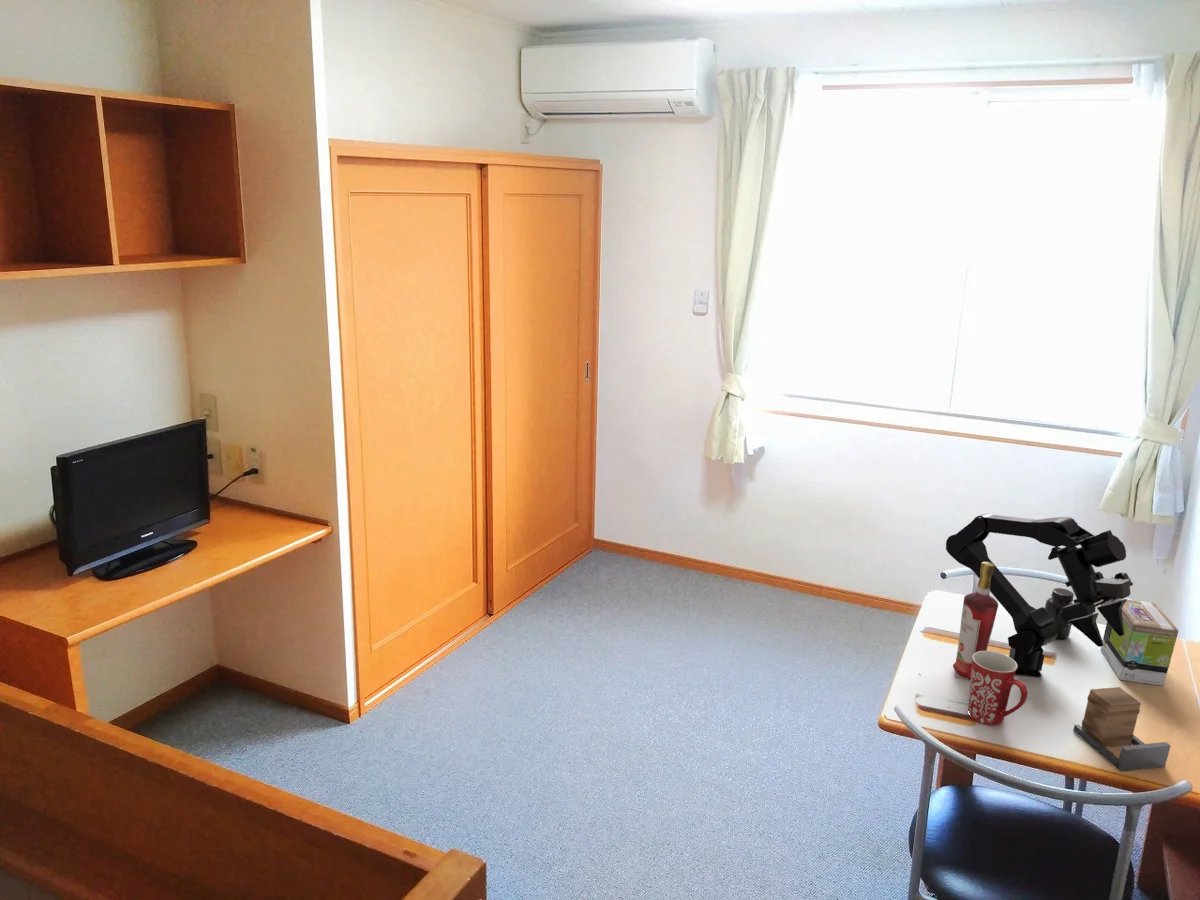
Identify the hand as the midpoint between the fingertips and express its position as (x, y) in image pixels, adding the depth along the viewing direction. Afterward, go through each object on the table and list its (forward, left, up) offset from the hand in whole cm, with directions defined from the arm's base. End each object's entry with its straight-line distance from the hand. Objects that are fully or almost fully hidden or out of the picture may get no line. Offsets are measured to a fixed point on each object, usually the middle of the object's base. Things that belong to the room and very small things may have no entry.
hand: (1111, 640), depth 198 cm
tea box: (+15, +19, -16) cm, 29 cm away
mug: (-26, -11, -16) cm, 32 cm away
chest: (-3, -13, -16) cm, 21 cm away
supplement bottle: (+2, +33, -16) cm, 37 cm away
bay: (-2, -17, -16) cm, 23 cm away
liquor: (-26, +8, -16) cm, 31 cm away
